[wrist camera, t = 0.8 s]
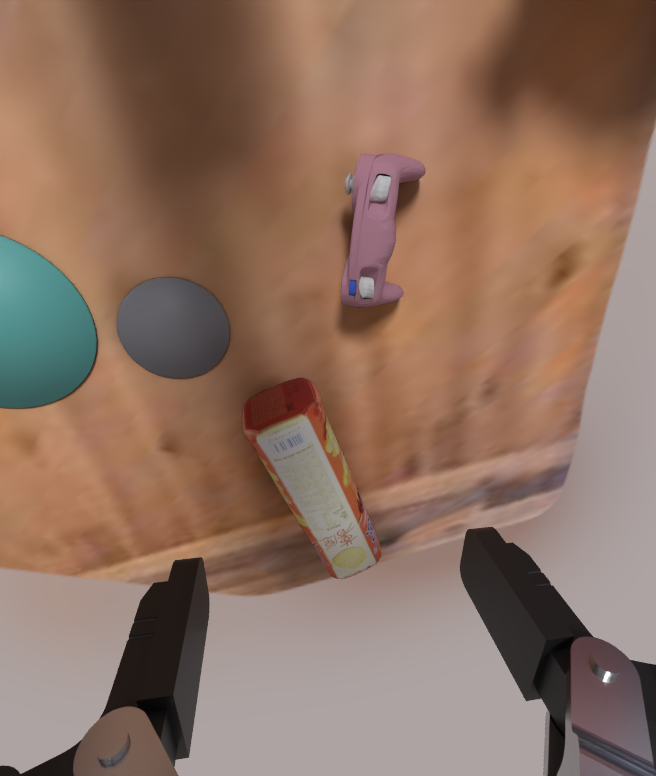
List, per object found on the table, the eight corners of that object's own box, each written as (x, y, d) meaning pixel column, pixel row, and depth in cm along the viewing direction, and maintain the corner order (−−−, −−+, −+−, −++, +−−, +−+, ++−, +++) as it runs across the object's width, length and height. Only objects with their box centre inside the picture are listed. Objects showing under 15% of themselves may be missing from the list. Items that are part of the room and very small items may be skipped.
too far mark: (108, 274, 27) (108, 275, 27) (228, 279, 29) (228, 280, 29) (126, 377, 31) (125, 378, 31) (231, 376, 33) (231, 378, 33)
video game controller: (363, 153, 28) (339, 144, 22) (428, 159, 27) (422, 151, 21) (348, 291, 33) (324, 315, 27) (403, 300, 32) (391, 326, 26)
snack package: (372, 519, 45) (391, 571, 39) (317, 540, 45) (329, 595, 39) (308, 364, 34) (323, 406, 28) (236, 393, 34) (236, 440, 28)
